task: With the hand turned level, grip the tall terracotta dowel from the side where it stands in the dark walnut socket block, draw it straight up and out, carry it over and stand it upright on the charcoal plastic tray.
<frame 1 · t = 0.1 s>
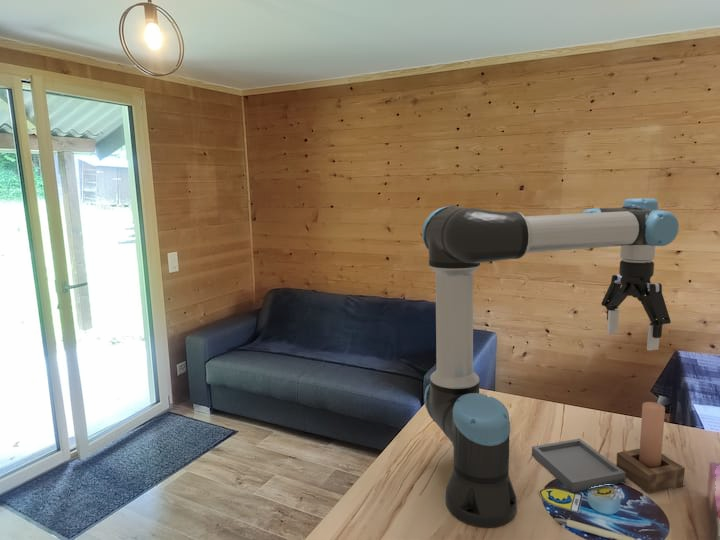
hand: (631, 341, 125), 28 cm above the table, tool pointing down, fingers open, 13 cm apart
socket block: (648, 477, 113), on the table
dowel: (651, 442, 112), in the socket block
tray: (576, 468, 118), on the table
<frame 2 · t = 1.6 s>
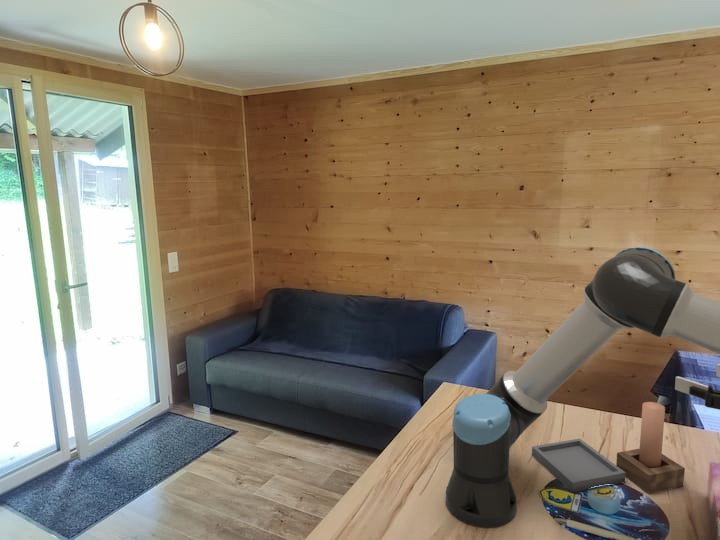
hand: (697, 376, 100), 28 cm above the table, tool horizontal, fingers open, 13 cm apart
nothing on the table moved.
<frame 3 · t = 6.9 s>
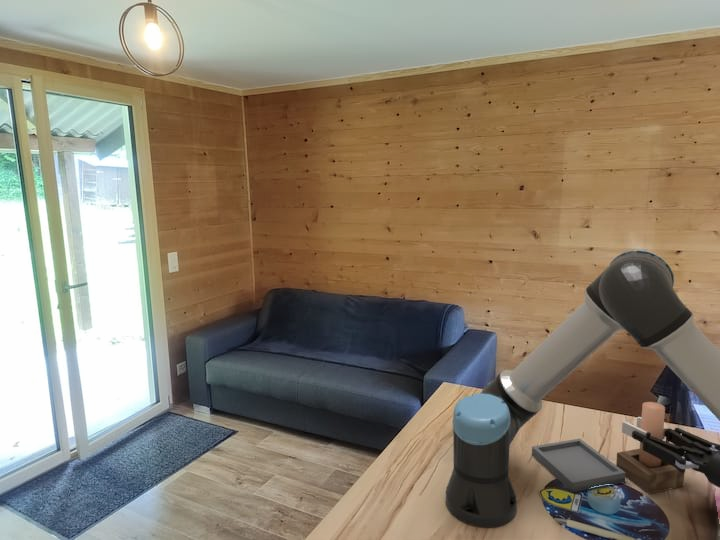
hand: (630, 424, 116), 11 cm above the table, tool horizontal, fingers closed on dowel, 4 cm apart
dowel: (651, 442, 112), in the socket block, touching gripper
everything else where it was.
when the fingers open (13 cm above the table, at t = 12.8 s): dowel stays where it is, resting on tray.
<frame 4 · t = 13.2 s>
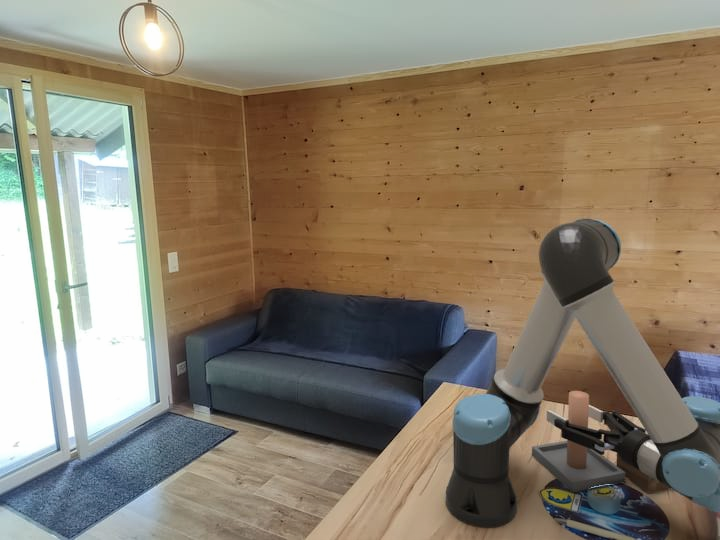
hand: (564, 410, 120), 13 cm above the table, tool horizontal, fingers open, 10 cm apart
dowel: (577, 429, 116), in the tray, point 10 cm above the table
everything else where it was.
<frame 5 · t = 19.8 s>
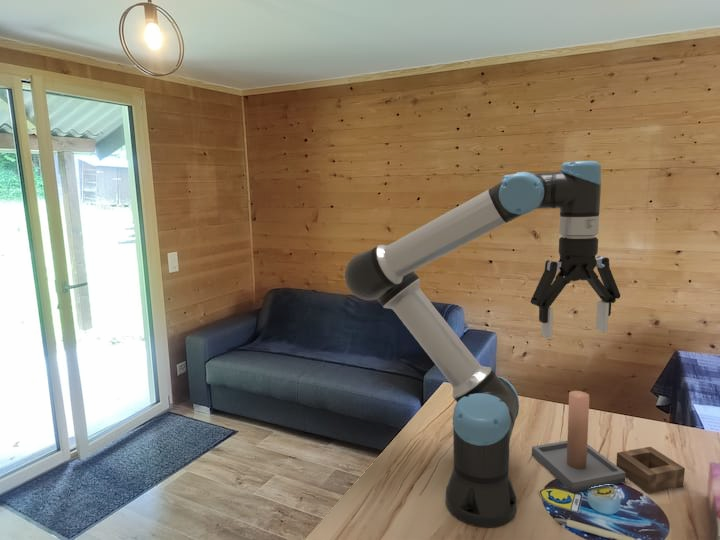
hand: (574, 333, 105), 37 cm above the table, tool pointing down, fingers open, 13 cm apart
at the end: dowel inside the target area on the tray (0.1 cm from its centre), point 10.2 cm above the tray's base; dowel tilted 0°; the gripper is holding nothing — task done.
